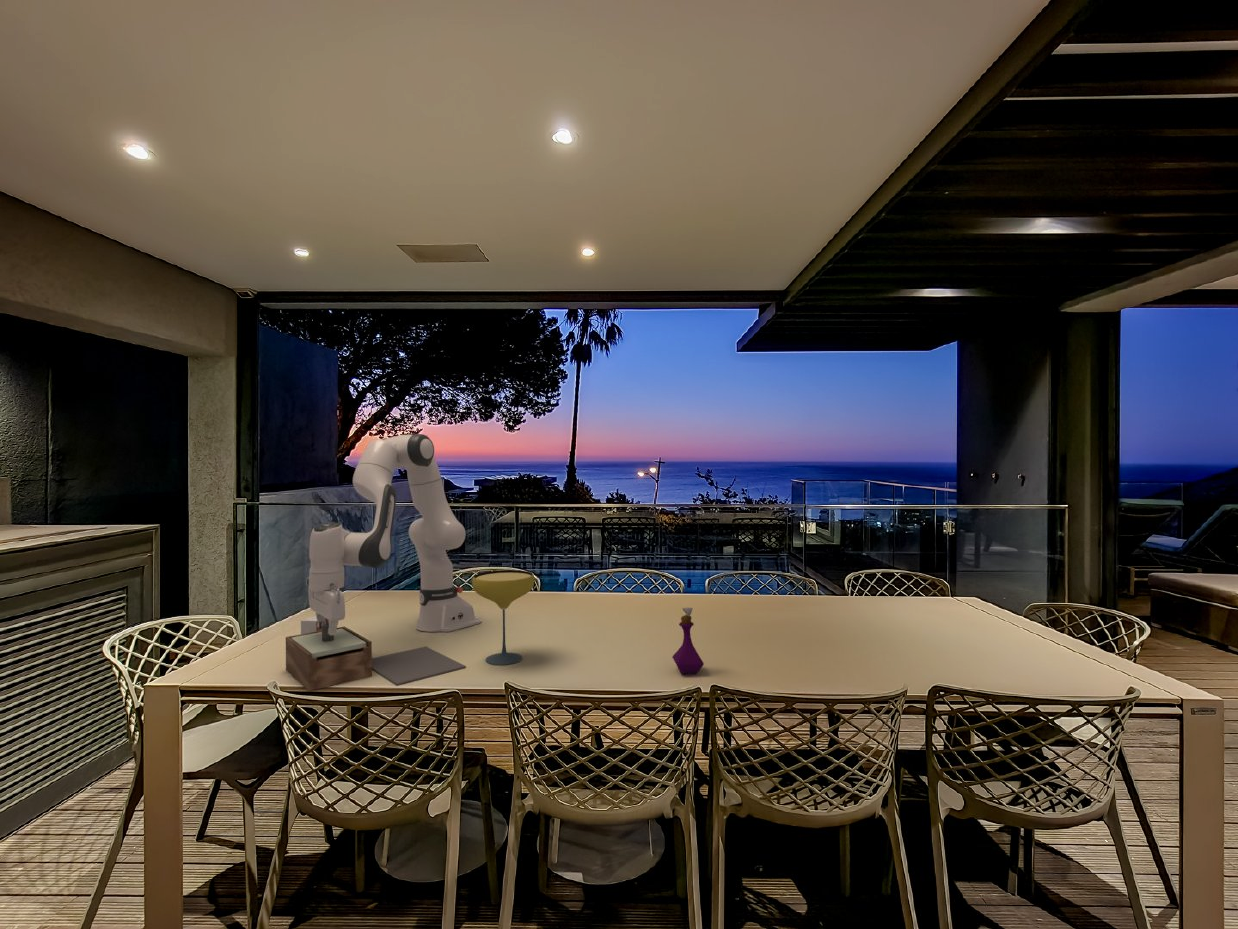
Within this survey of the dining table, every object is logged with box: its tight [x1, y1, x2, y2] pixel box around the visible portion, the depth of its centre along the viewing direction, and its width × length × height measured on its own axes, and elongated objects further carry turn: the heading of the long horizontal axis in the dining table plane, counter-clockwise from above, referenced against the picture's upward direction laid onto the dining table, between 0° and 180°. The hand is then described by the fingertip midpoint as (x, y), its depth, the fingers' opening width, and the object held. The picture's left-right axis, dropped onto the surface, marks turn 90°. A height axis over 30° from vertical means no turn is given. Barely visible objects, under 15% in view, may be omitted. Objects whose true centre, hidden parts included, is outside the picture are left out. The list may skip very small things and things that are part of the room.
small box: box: [300, 615, 329, 634], centre depth 188 cm, size 8×6×10 cm
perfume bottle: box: [672, 607, 705, 676], centre depth 166 cm, size 8×8×18 cm
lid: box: [291, 624, 366, 658], centre depth 168 cm, size 14×20×5 cm
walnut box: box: [285, 626, 373, 692], centre depth 168 cm, size 16×22×9 cm
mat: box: [372, 646, 467, 687], centre depth 174 cm, size 20×26×1 cm
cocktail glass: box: [471, 569, 535, 666], centre depth 179 cm, size 18×18×25 cm
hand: (326, 631), depth 168 cm, fingers open, 8 cm apart
